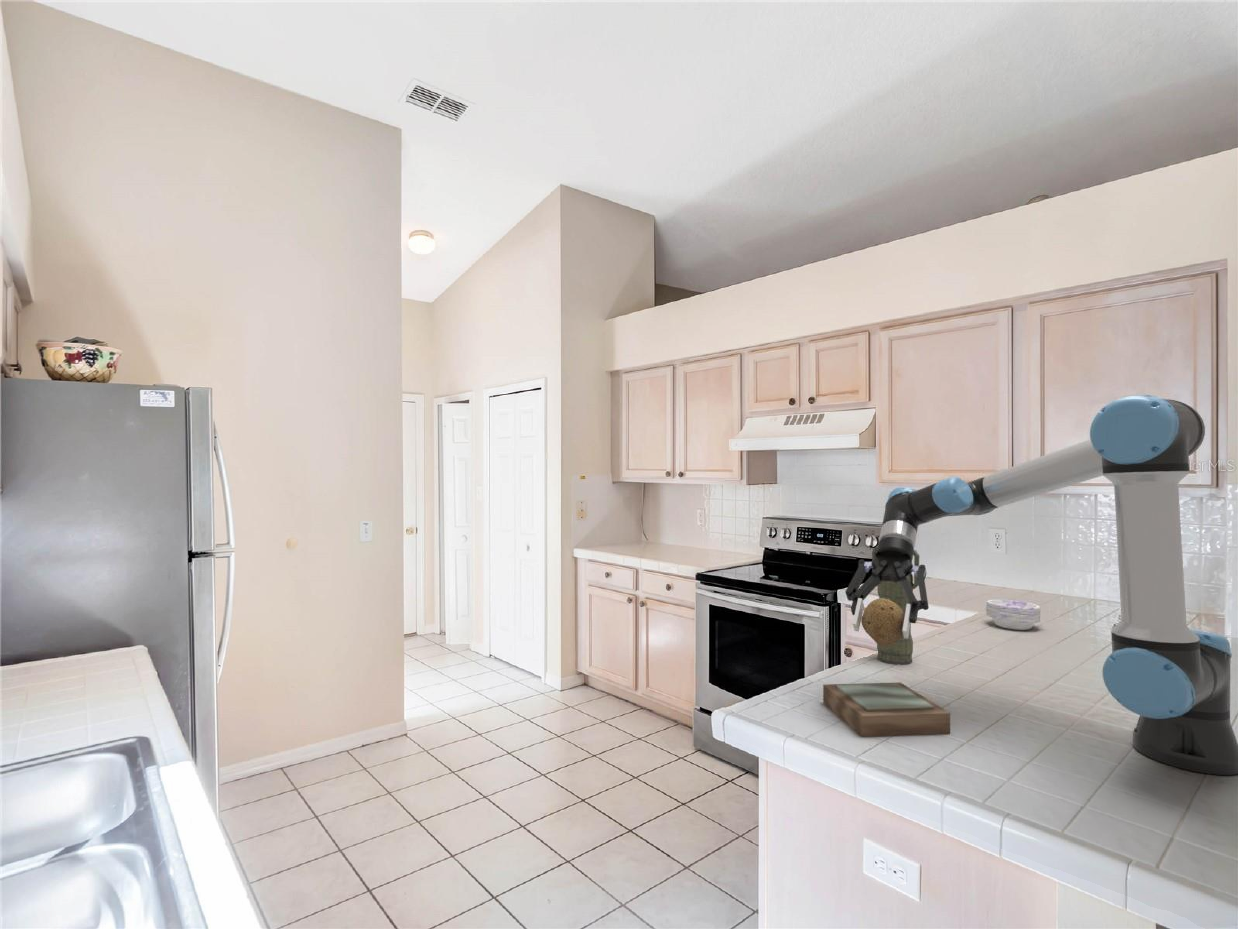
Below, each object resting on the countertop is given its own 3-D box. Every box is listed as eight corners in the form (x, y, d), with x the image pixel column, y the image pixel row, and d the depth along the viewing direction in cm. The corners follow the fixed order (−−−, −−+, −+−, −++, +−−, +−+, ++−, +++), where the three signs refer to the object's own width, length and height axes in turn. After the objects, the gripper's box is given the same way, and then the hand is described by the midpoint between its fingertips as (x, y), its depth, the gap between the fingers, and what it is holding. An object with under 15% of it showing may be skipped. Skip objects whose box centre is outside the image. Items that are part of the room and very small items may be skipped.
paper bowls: (1029, 623, 217) (1030, 599, 217) (1048, 634, 202) (1048, 609, 202) (980, 620, 220) (980, 597, 221) (994, 631, 206) (994, 606, 206)
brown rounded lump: (850, 642, 136) (850, 595, 136) (882, 638, 139) (882, 592, 139) (884, 654, 127) (884, 604, 127) (916, 649, 131) (916, 600, 131)
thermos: (917, 667, 167) (918, 533, 167) (869, 660, 172) (870, 531, 173) (920, 659, 174) (920, 531, 175) (874, 652, 180) (874, 528, 180)
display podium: (950, 733, 125) (950, 710, 125) (862, 736, 123) (862, 713, 123) (900, 700, 143) (900, 680, 143) (823, 702, 141) (823, 682, 141)
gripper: (951, 560, 140) (940, 649, 127) (849, 552, 152) (829, 633, 139) (948, 538, 136) (936, 628, 122) (843, 531, 148) (822, 613, 135)
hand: (879, 631), depth 131 cm, fingers closed on brown rounded lump, 9 cm apart
